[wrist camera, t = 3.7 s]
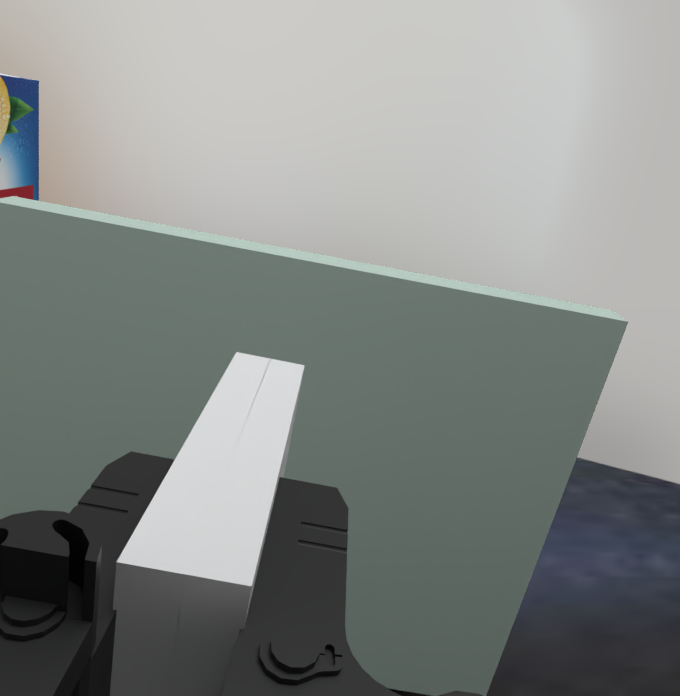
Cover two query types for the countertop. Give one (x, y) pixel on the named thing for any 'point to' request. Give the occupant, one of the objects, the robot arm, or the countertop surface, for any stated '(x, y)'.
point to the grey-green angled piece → (312, 407)
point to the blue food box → (19, 137)
